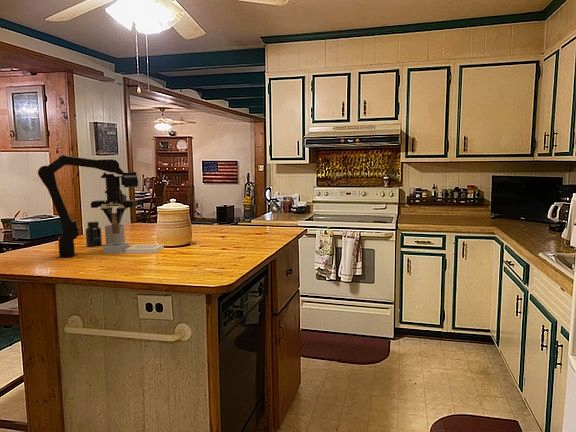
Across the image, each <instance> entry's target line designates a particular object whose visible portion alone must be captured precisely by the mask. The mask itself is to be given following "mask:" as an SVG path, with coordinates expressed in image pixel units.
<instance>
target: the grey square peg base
mask: <svg viewBox="0 0 576 432" xmlns="http://www.w3.org/2000/svg"><path fill="white" fill-rule="evenodd" d="M102 247H103V254H123V253H126V251H125V249H127V248H129V247H130V243H129V242H125V243H110V244H108V245H106V244H105V245H103V246H102Z"/></svg>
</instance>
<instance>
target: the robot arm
mask: <svg viewBox="0 0 576 432" xmlns="http://www.w3.org/2000/svg"><path fill="white" fill-rule="evenodd" d="M64 166H74V167H85V168H92V169H97V170H101V171H104V172H103V174H101V176H100V178H101V179H105V190H104V194H106V199H105V200H101V199H99V200H92V201H91V202H90V209H99V207H101V208H100V210H101V211H103V213H104V214H105V216H106V217H107V219H108V221H109V223H110V225H112V219H111V213H113V207H118V208H115V209H116V210H115V211H116V213H117V220H118V224H121V221H122V218H123V215H124V213H125V211H126V210H127V209H128V208H136V207H138V202H137V199H129V200H128V199H127V195H126V194H124V193H123V191H122V189H121V186H123V188H127V189H129V188H138V187H139V180H138V175H137V172H136V171H132V172H124V170H123V169H122V168H120V163H119V162H118V160H116V159H113V158H109V159H108V158H107V159H106V158H105V159H92V158H84V157H76V156H75V157H74V156H68V155H65V154H63V155H60V156H59V157H58V158H57V159H56V160H54V161H52V162H51V163H50V164H48V165H41V166H40V167H39V168H38V171H37V175H38V176H39V179H40V180H41V182H42V183H43V185H44V186H45V188H46V189H47V191H48V193H49V195H50V198H51V200H52V203H53V206H54V208H55V210H56V212H57V215H58V217H59V220H60V224H61V231H62V233H61V234H60V235H59V236H58V239H57V242H58V253H59V255H58V256H55V258H56V259H70V258H74V257H75V256H78V255H79V254H78V253H76V250H75V249H76V248H75V247H76V246H75V240H76V239H77V238H78V236H79V231H80V227H79V226H78V224H77V220H76V219H73V220H72V218H71V216H70V215H69V211H68V210H67V206H66V205H65V203H64V200H63V197H62V195H61V192H60V190H59V188H58V184H57V180H56V179H57V178H56V174H55V173H56V172H57V171H59V170H60V169H62V168H63V167H64ZM106 172H107V173H106ZM115 174H116V176H115ZM118 175H119V176H118Z"/></svg>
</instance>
